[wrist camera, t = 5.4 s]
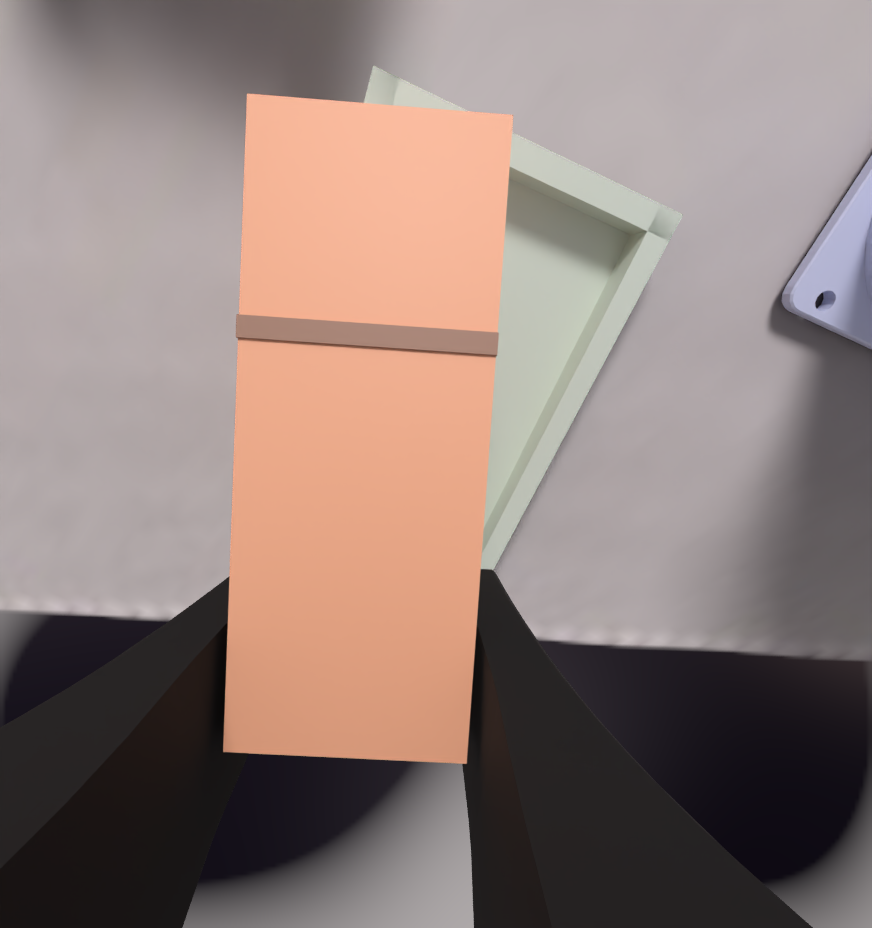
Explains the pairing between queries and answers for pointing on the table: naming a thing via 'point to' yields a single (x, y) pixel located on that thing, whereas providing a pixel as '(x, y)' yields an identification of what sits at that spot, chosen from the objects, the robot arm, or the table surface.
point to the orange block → (362, 426)
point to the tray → (551, 303)
